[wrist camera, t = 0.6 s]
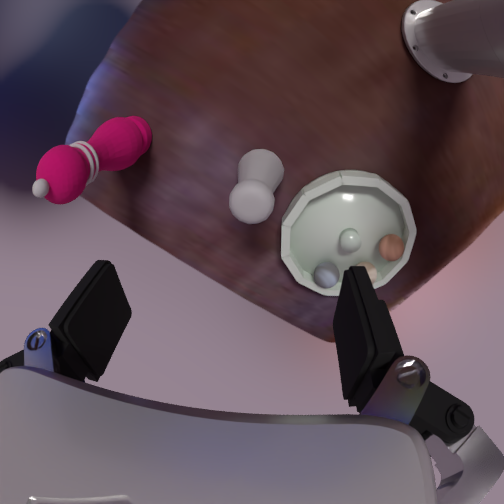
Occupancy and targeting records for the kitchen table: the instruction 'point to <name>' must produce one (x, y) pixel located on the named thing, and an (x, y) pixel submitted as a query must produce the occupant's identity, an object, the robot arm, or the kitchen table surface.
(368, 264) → the bead cream
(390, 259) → the bead terracotta
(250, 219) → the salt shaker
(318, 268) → the dusty blue bead
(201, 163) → the kitchen table surface
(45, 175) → the pepper mill
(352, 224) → the tray
